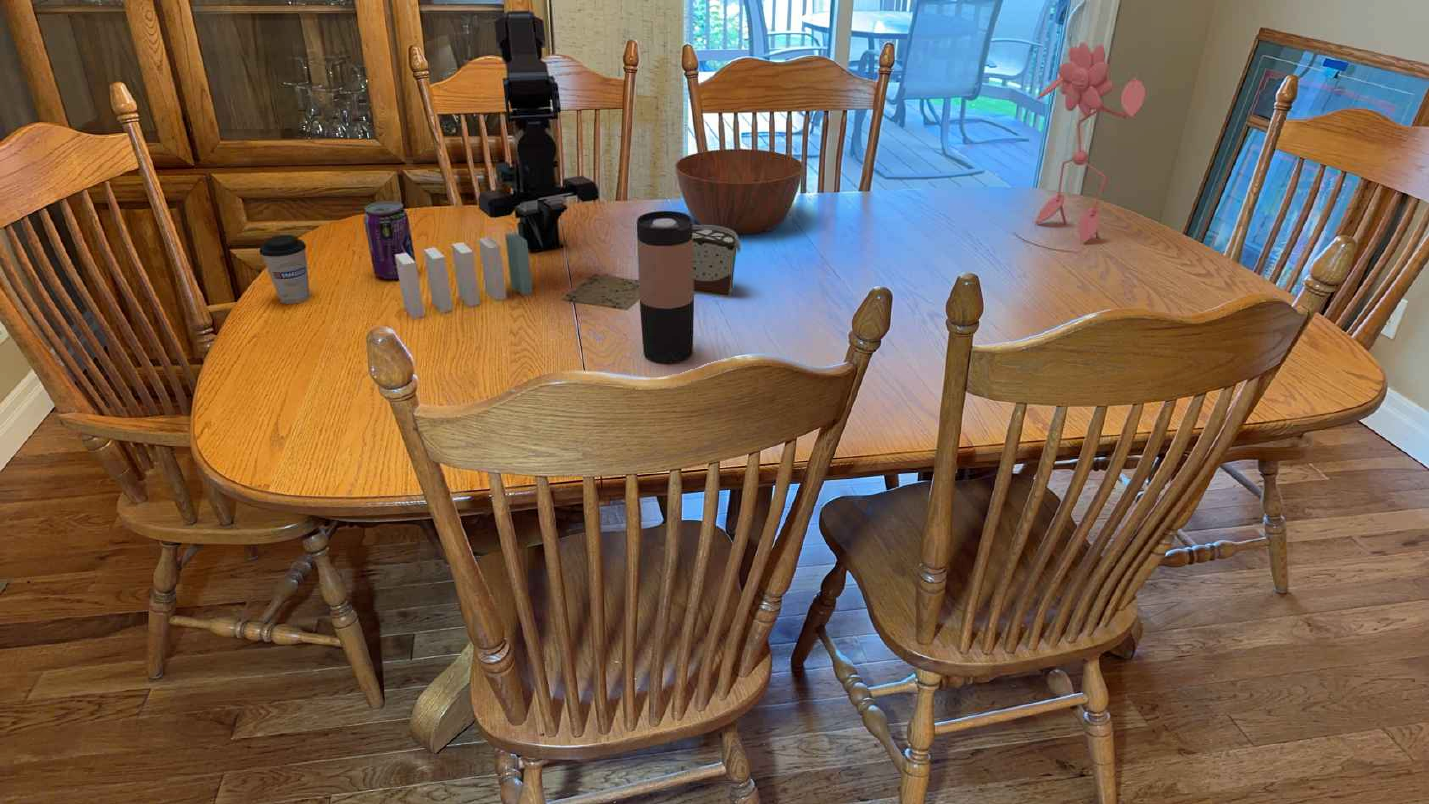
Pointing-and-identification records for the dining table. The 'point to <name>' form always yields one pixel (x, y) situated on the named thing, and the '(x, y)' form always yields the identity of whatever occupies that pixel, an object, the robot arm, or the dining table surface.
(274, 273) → the coffee cup
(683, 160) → the bowl
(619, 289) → the speckled square tile
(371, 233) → the beverage can
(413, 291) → the domino
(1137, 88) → the figurine
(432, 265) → the domino
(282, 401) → the dining table surface
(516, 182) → the robot arm
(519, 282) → the domino
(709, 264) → the food container
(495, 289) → the domino
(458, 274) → the domino
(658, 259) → the travel mug
